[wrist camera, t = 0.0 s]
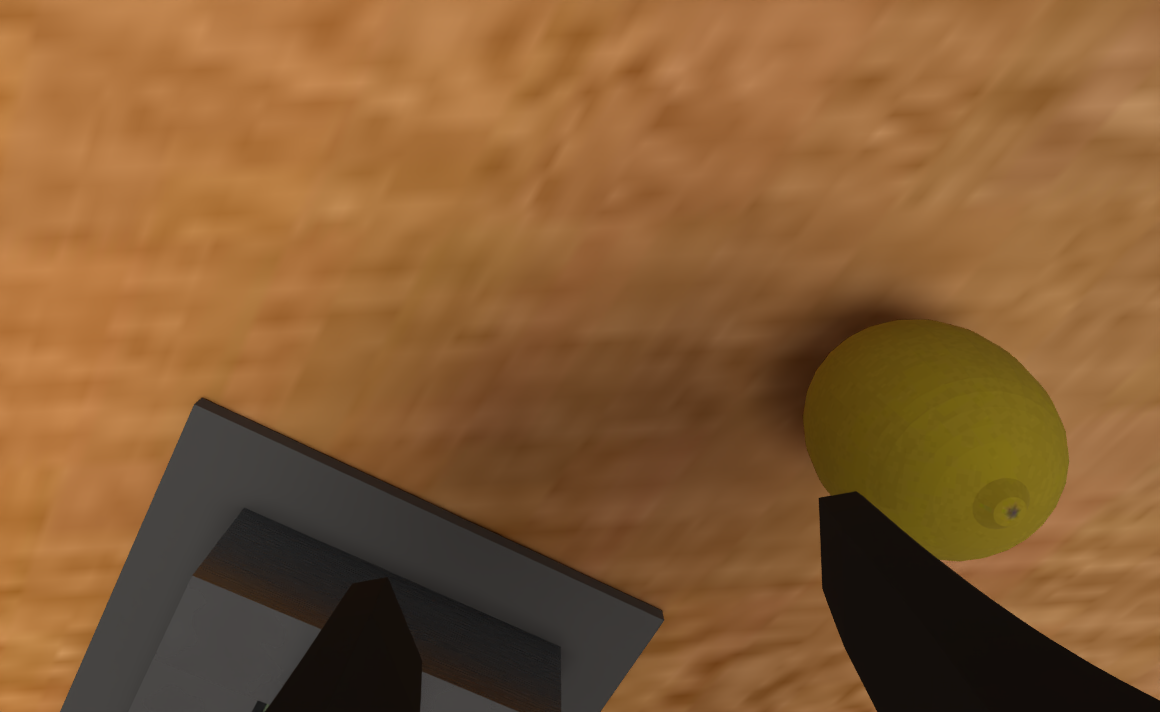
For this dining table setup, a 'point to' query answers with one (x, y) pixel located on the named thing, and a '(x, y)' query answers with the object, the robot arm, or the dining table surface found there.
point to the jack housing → (298, 613)
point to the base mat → (356, 526)
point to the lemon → (938, 436)
